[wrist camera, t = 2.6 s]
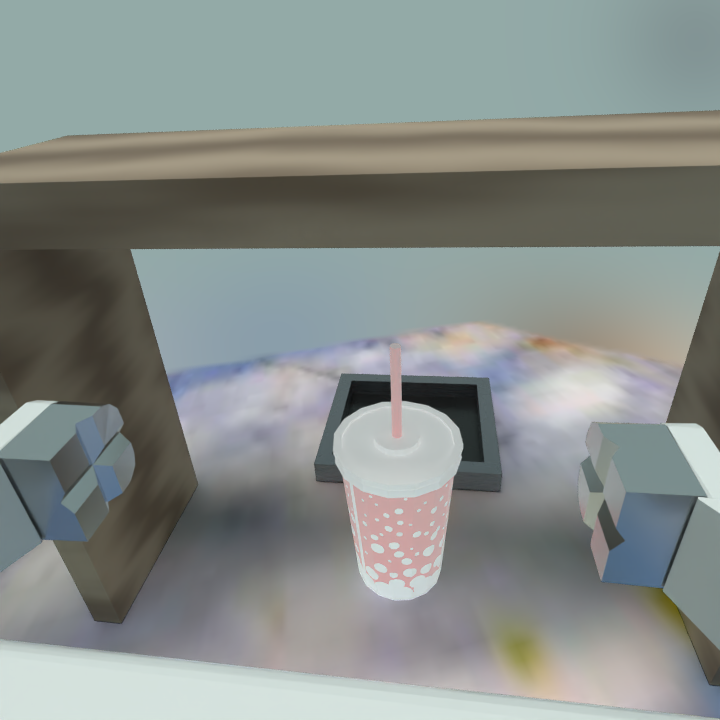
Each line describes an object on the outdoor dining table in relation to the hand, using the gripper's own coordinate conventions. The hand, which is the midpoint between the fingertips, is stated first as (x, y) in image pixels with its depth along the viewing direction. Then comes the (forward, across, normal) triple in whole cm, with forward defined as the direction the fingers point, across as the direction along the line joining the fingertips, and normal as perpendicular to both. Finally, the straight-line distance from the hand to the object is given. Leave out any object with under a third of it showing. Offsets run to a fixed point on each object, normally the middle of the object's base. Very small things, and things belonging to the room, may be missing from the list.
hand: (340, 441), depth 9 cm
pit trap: (+24, 0, +19) cm, 30 cm away
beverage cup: (+12, 0, +19) cm, 23 cm away
